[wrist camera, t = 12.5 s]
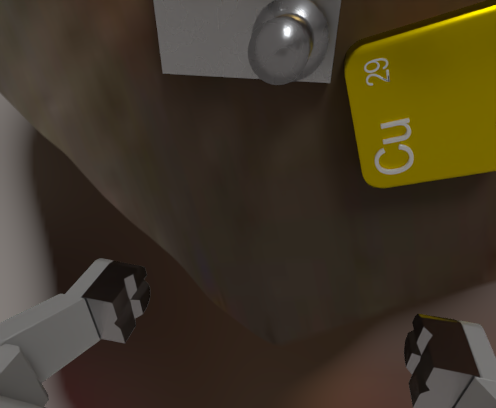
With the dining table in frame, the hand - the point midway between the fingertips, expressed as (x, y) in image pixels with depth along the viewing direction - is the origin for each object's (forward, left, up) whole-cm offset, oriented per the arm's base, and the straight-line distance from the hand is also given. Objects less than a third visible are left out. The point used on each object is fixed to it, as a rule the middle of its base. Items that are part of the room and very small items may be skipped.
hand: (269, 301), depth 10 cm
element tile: (-11, +2, -32) cm, 34 cm away
